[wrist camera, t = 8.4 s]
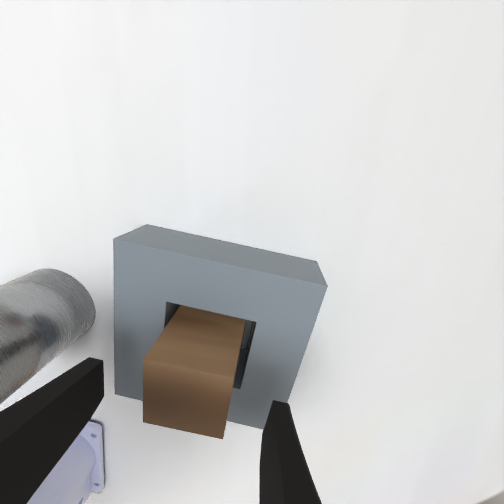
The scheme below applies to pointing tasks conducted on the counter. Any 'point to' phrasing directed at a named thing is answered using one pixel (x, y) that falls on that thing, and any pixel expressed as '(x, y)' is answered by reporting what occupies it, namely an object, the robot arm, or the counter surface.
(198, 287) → the socket block
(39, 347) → the round peg
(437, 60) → the counter surface
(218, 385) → the square peg
